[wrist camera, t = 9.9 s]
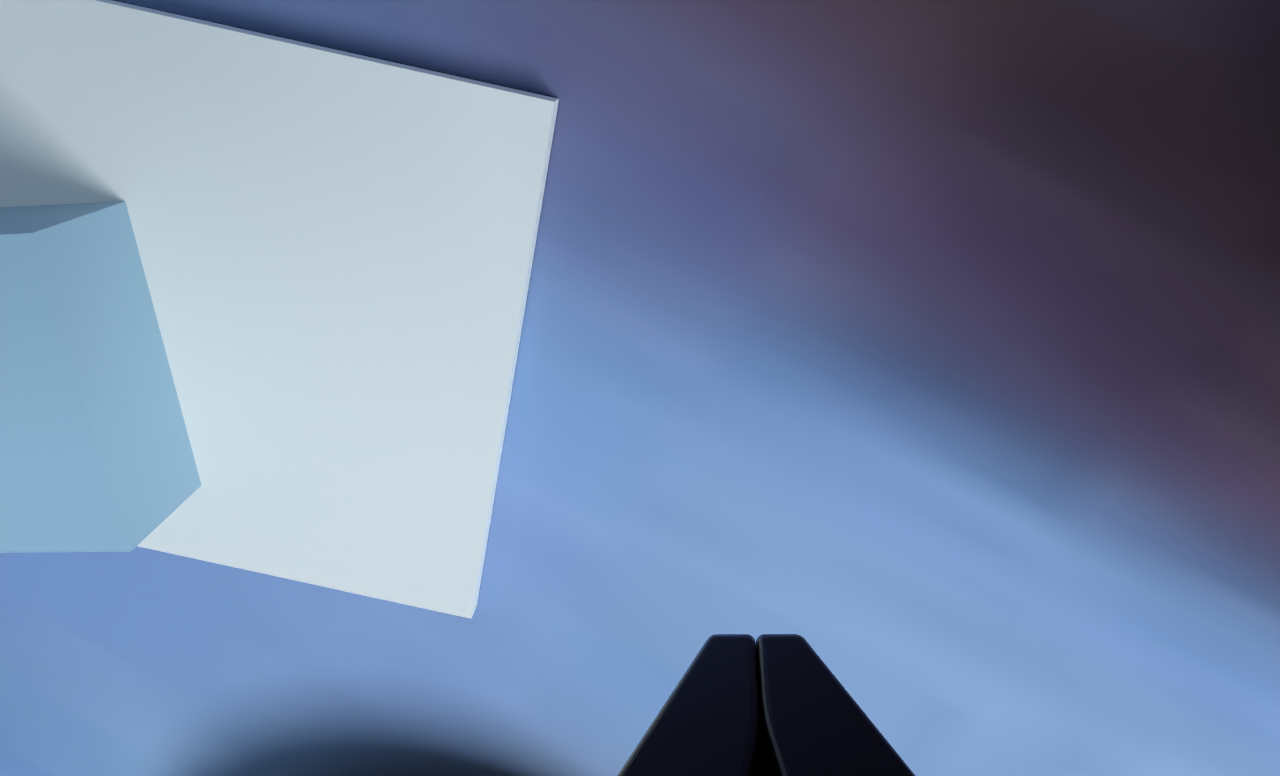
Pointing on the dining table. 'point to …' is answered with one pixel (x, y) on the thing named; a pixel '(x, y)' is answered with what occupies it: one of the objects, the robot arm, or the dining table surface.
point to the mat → (302, 276)
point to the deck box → (83, 386)
